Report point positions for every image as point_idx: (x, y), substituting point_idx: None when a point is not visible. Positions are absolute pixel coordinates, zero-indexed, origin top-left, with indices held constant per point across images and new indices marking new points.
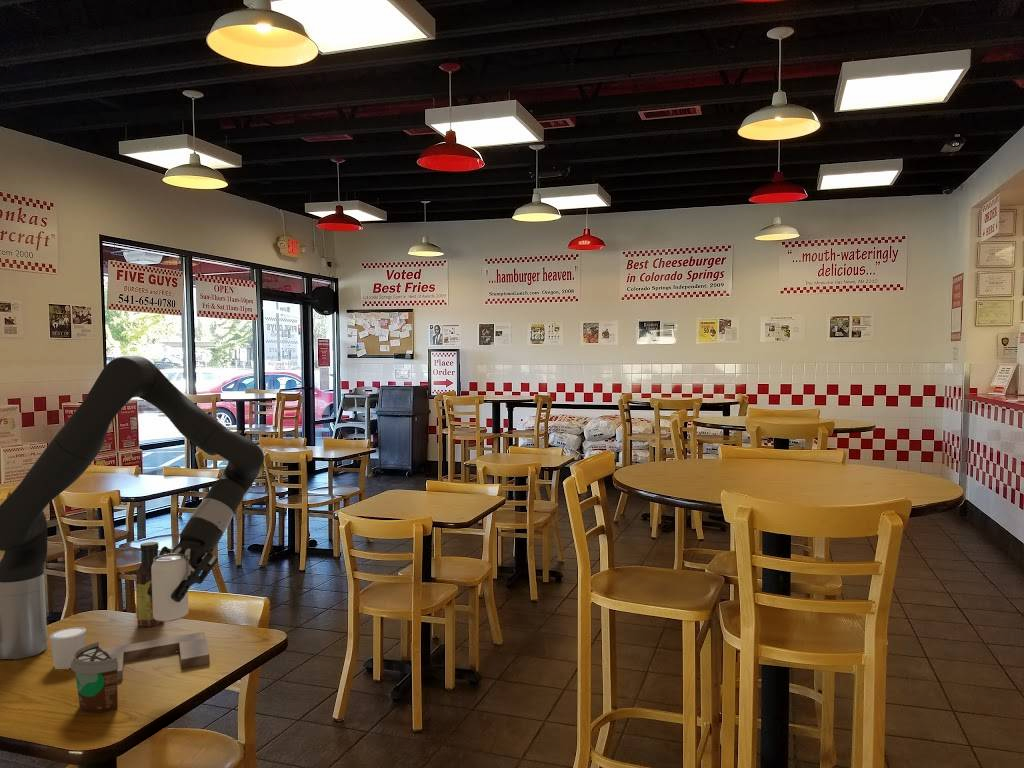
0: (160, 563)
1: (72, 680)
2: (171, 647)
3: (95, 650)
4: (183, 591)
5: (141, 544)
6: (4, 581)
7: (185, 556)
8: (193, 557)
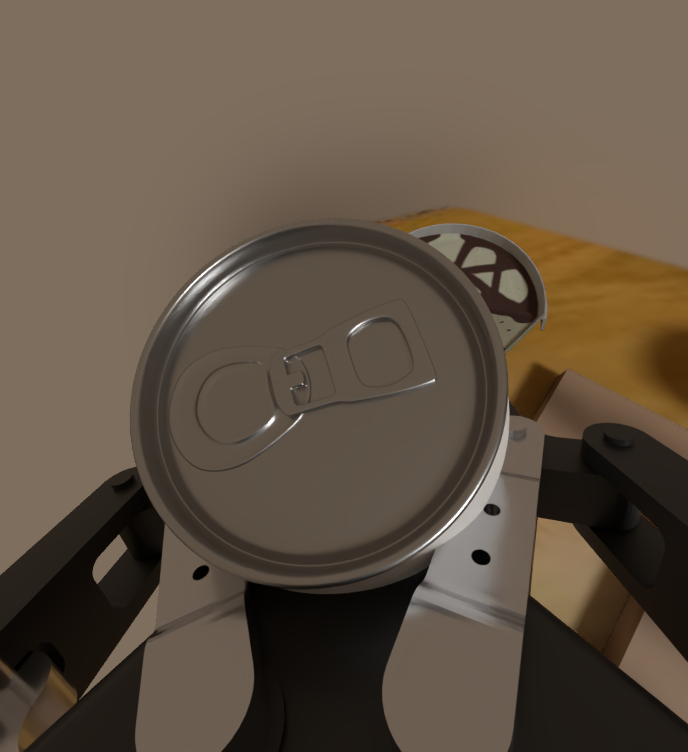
0: (266, 250)
1: (639, 371)
2: (619, 647)
3: (508, 297)
4: None
5: None
6: None
7: (230, 598)
8: (142, 657)
